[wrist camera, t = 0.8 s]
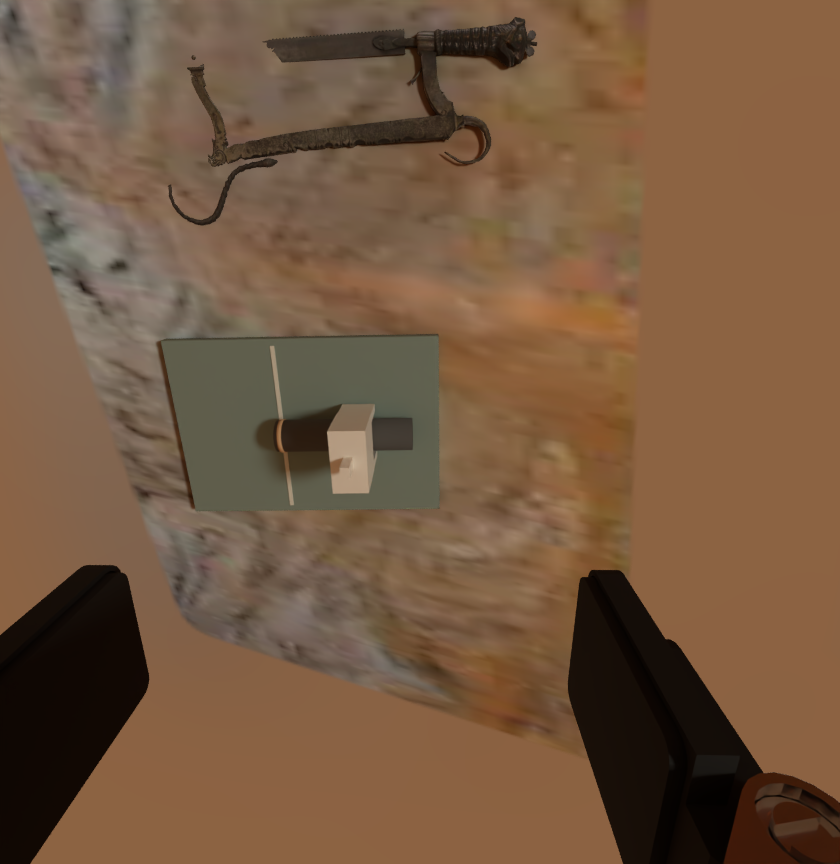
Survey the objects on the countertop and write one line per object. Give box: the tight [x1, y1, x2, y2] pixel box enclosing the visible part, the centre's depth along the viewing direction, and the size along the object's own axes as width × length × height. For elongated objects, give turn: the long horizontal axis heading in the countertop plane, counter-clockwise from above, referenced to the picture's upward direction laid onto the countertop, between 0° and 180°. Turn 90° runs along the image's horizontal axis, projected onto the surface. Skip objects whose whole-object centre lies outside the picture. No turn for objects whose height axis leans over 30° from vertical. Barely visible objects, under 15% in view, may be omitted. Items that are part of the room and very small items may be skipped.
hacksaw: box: [168, 17, 537, 225], centre depth 31 cm, size 24×10×2 cm, turn 93°
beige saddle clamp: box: [327, 404, 377, 494], centre depth 34 cm, size 4×2×8 cm, turn 1°
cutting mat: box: [161, 334, 439, 511], centre depth 38 cm, size 14×20×1 cm
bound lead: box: [273, 418, 413, 453], centre depth 36 cm, size 2×10×2 cm, turn 91°
